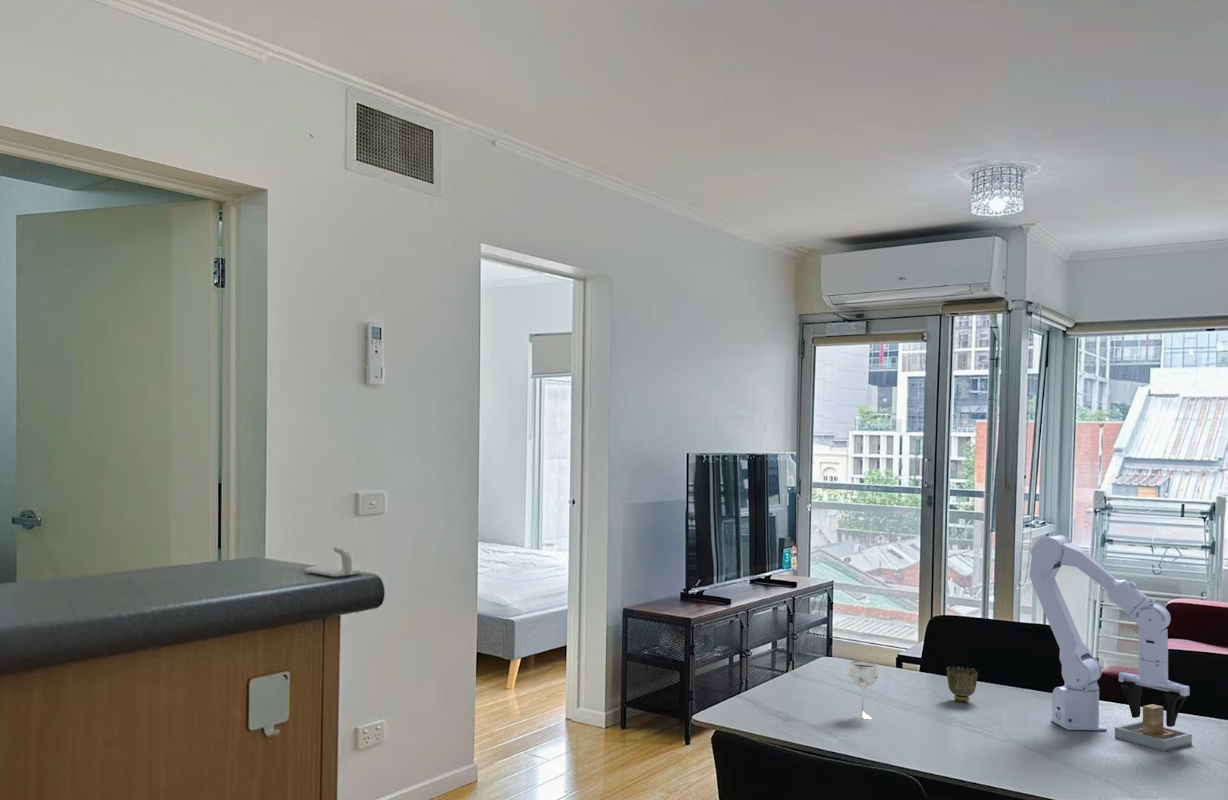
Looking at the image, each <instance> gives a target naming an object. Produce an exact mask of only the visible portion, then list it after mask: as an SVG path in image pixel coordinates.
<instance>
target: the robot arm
mask: <svg viewBox="0 0 1228 800" xmlns="http://www.w3.org/2000/svg"><path fill="white" fill-rule="evenodd" d="M1030 555H1031V558H1030V567H1029V575H1028V576H1029V579H1030V581H1031V582H1030V583H1031V584H1032V586H1033V589H1034V591H1035V593H1036V595H1037V598H1038V600H1039V603H1040V606H1041V608H1042V610H1043V613H1044V615H1045V617H1046V620H1047V622H1048V625H1049V626H1050V629H1051V631H1052V633H1053V636H1054V638H1055V641H1056V643H1057V645H1058V647H1059V655H1058V656H1059V658H1058V659H1059V661H1060V664H1061V676H1062V679H1063V681H1064V685H1062V686H1056V687H1054V689H1053V691H1052V694H1051V695H1052V696H1051V697H1052V699H1051V700H1052V701H1051V702H1052V703H1051V705H1052V706H1051V708H1052V709H1051V718H1050V721H1051V722H1053V723H1055V724H1056V725H1059V726H1060V727H1062V728H1064V729H1066V730H1069V731H1077V730H1078V731H1107V730H1108V729H1107V727H1105V726H1103V725H1101V724H1100V687H1099V684H1098V680H1099V679H1100V678H1101V676H1102V673H1103V670H1102V669H1103V668H1102V665H1101V663H1100V662H1099V661H1098V659H1097V658H1095V656H1093V655H1092V652H1091V650H1090V649H1089V647H1087V645H1086V644H1085V643H1084V642H1083V641H1082V640H1083V639H1082V638H1081V636H1080V635H1081V634H1080V633H1079V631H1078V628H1077V626H1076V624H1075V622H1074V620H1073V617H1072V615H1071V612H1070V610H1069V607H1068V605H1067V603H1066V601H1065V599H1064V596H1063V594H1062V592H1061V589H1060V587H1059V585H1058V582H1057V580H1056V576H1057V574H1058V572H1059V571H1060V569H1061V567H1062V566H1068V567H1073V568H1074V567H1075V568H1077V569H1078V570H1080V571H1081V572H1083V573H1084V574H1085V575H1086V576H1088V577H1089V578H1090V579H1092V580H1093V581H1094V582H1096V583H1097V584H1098V585H1100V586H1101V587H1102V588H1104V590H1106V593H1107V598H1108V599H1109V600H1110V601H1111V602H1113V603H1114V605H1116V606H1117V607H1119V608H1120V609H1121V610H1122V611H1124V613H1125V614H1127V615H1128V616H1129V617H1131V618H1132V619H1133V618H1134V621H1135V623H1136V625H1137V627H1138V629H1139V630H1138V631H1139V632H1138V633H1139V635H1138V674H1135V673H1129V672H1126V671H1125V672H1119V673H1118V682H1120V683H1123V684H1120V689H1121V691H1122V692H1123V694H1124V696H1125V699H1126V701H1127V703H1128V706H1129V711H1130V714H1131V718H1134V719H1137V718H1140V716H1141V698H1142V693H1143V688H1144V687H1145V688H1149V689H1154V690H1157V691H1162V692H1163V691H1164V692H1166V693H1164V694H1163V700H1164V703H1165V704H1164V705H1165V711H1166V713H1165V714H1166V715H1165V716H1166V717H1165V718H1166V719H1165V722H1166V723H1165V724H1166V727H1167V728H1171V727H1175V726H1176V721H1177V718H1178V714H1179V712H1180V710H1181V708H1182V706H1183V705H1184V703H1185V701H1186V700H1187V699H1188V698H1187V697H1189V696H1190V686H1189V685H1184V684H1182V683H1178V682H1175V681H1172V680H1169V640H1168V637H1169V636H1168V635H1169V634H1168V628H1167V627H1169V625H1170V623H1171V620H1172V618H1171V614H1170V612H1169V610H1168V609H1167V608H1166V606H1165V605H1163V604H1161V603H1156V600H1155V599H1154V598H1152V597H1148V596H1147V595H1145V593H1143V592H1142V591H1141V590H1139V589H1138V588H1137V584H1136V583H1135V582H1134V581H1128V580H1127V579H1117V578H1116V577H1115V576H1114V575H1112V574H1111V573H1110V572H1109V571H1108V570H1107V569H1105V567H1103V566H1102V565H1101V564H1100V563H1099V562H1098V561H1096V559H1094V558H1093V557H1092V556H1091V555H1089V554H1088V553H1087V551H1085V550H1084V549H1083V548H1082V547H1081V546H1079V545H1078V544H1076V543H1075V542H1072V541H1071V540H1070V538H1068V537H1067V536H1064V535H1061V534H1056V535H1052V536H1042V537H1040V538H1039V539H1037V540H1036V541H1035V542H1034V544H1033V546H1032V548H1031V550H1030Z"/></svg>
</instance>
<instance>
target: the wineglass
mask: <svg viewBox="0 0 1228 800" xmlns="http://www.w3.org/2000/svg"><path fill="white" fill-rule="evenodd" d="M849 666H850V667H849V668H848V676H849V678H850V680H851V681H852V682H853V683H854V684H856V685H857V686H858V687H859V688H860V689H861V690H860V691H861V694H860V695H861V711H858V712H852V713H851V716H853V717H854V718H857V719H873V718H874V716H873V714H871V713H868V712H865V711H864V709H865V691H866V689H867V687H869V686H872V685H873V684H874V683H875V682H876V681H877V680H878V677H879V672H878V671H879V670H878V667H879V664H877V663H876V662H872V661H867V660H852V661H851V660H850V661H849Z"/></svg>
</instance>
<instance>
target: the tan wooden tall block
mask: <svg viewBox="0 0 1228 800" xmlns="http://www.w3.org/2000/svg"><path fill="white" fill-rule="evenodd" d="M1164 709H1165V708H1164V706H1163V705H1162V706H1161V705H1159V704H1158V705H1157V704H1153V703H1152V704H1147V705H1143V706H1142V721H1143V733H1147V734H1151V735H1154V736H1156V735H1160V734H1163V727H1164Z"/></svg>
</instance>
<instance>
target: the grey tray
mask: <svg viewBox="0 0 1228 800" xmlns="http://www.w3.org/2000/svg"><path fill="white" fill-rule="evenodd" d="M1114 738H1115V739H1120V740H1122V741H1123V740H1124V741H1126V742H1131V743H1134V744H1138V745H1141V746H1145V747H1149V748H1151V749H1155V750H1159V751H1163V752H1168V751H1171V750H1175V749H1179V748H1183V747H1188V746H1190V745H1192V744H1193V741H1192V740H1193V739H1192V738H1193V734H1192V733H1190V732H1185V731H1182V730H1181V731H1180V730H1178V729H1173V728H1171V727H1167V726H1163V734H1160V735H1156V736H1154V735H1151V734H1147V733H1143V720H1140V721H1137V722H1132V723H1128V724H1123V725H1119V726H1115V727H1114Z"/></svg>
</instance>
